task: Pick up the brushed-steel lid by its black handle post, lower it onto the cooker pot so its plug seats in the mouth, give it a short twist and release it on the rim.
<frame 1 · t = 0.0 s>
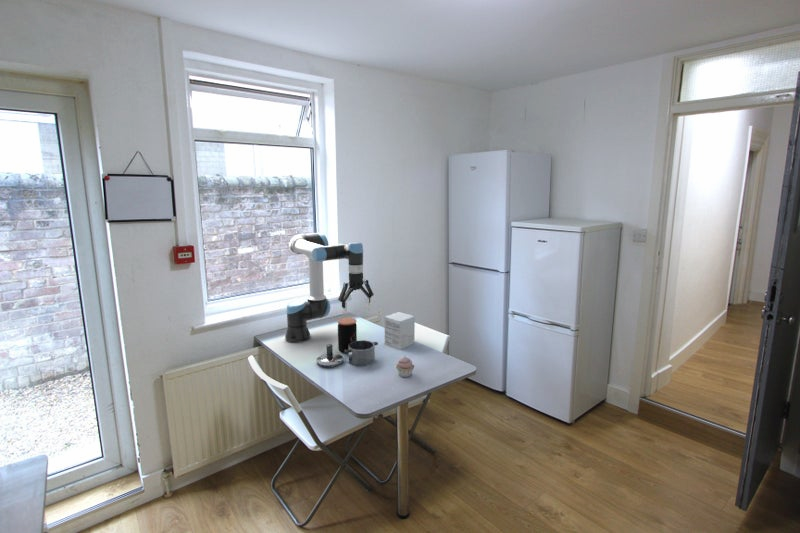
hand: (356, 311, 213), 28 cm above the table, fingers open, 13 cm apart
lid: (329, 362, 215), on the table
supplement box: (399, 344, 242), on the table
cupcake: (404, 375, 202), on the table
coffee jar: (347, 350, 232), on the table
pot: (361, 360, 218), on the table
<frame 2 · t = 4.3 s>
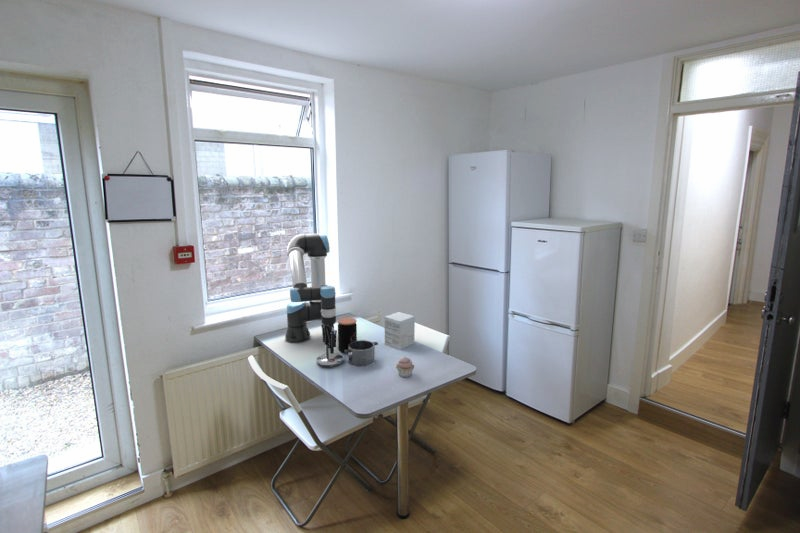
hand: (329, 357, 214), 3 cm above the table, fingers closed on lid, 3 cm apart
lid: (329, 362, 215), on the table, touching gripper
everything else where it was.
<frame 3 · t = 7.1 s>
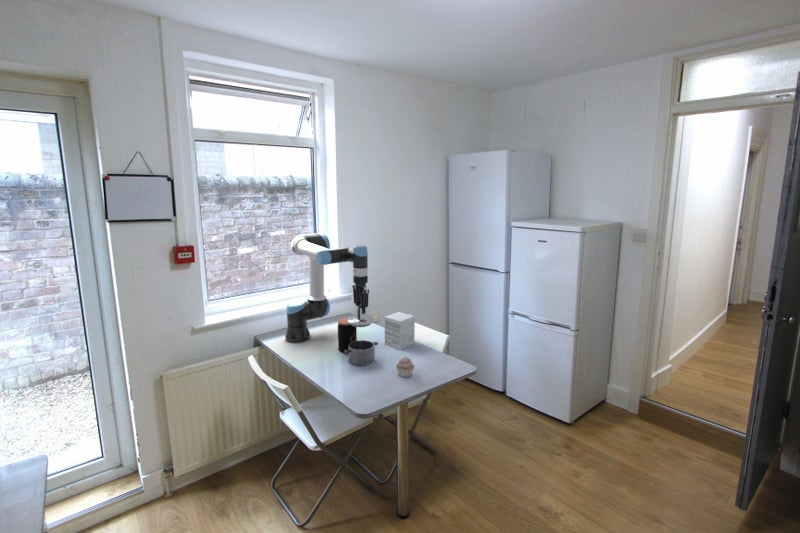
hand: (360, 318, 213), 24 cm above the table, fingers closed on lid, 3 cm apart
lid: (360, 323, 213), point 21 cm above the table, touching gripper
everything else where it was.
when the fingers open (11 cm above the table, at t = 10.0 s): lid stays where it is, resting on pot.
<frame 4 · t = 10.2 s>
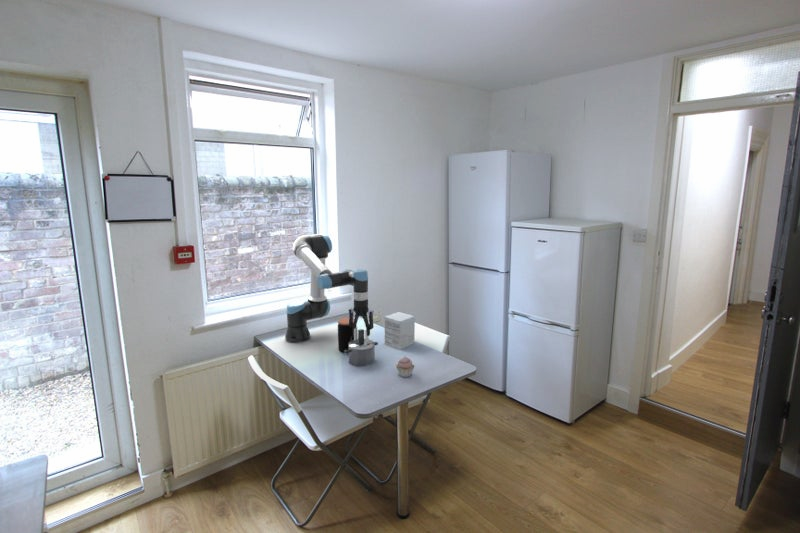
hand: (361, 340, 215), 12 cm above the table, fingers open, 6 cm apart
lid: (361, 347, 216), point 7 cm above the table, touching pot
everything else where it was.
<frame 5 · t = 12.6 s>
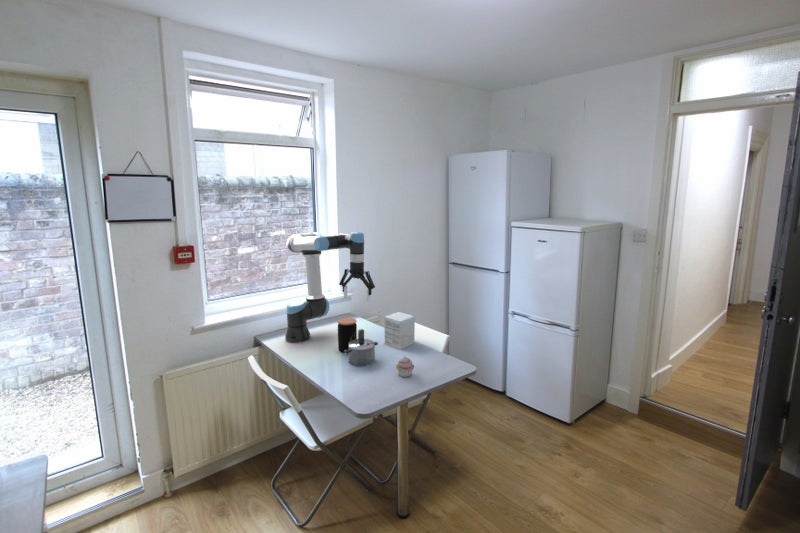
hand: (356, 299, 219), 32 cm above the table, fingers open, 13 cm apart
nothing on the table moved.
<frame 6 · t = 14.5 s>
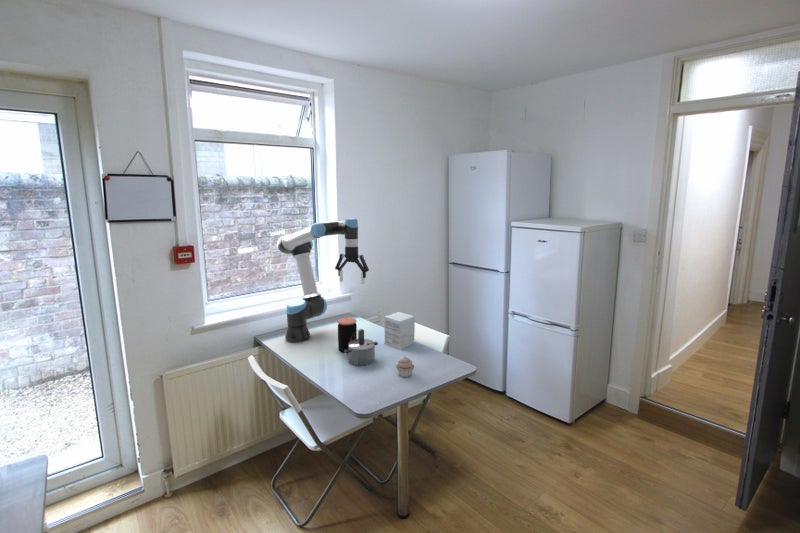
hand: (352, 282, 231), 39 cm above the table, fingers open, 13 cm apart
nothing on the table moved.
at the end: lid 0.0 cm off-centre on the pot, point 7.5 cm above the pot's base; lid tilted 0°; the gripper is holding nothing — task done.
